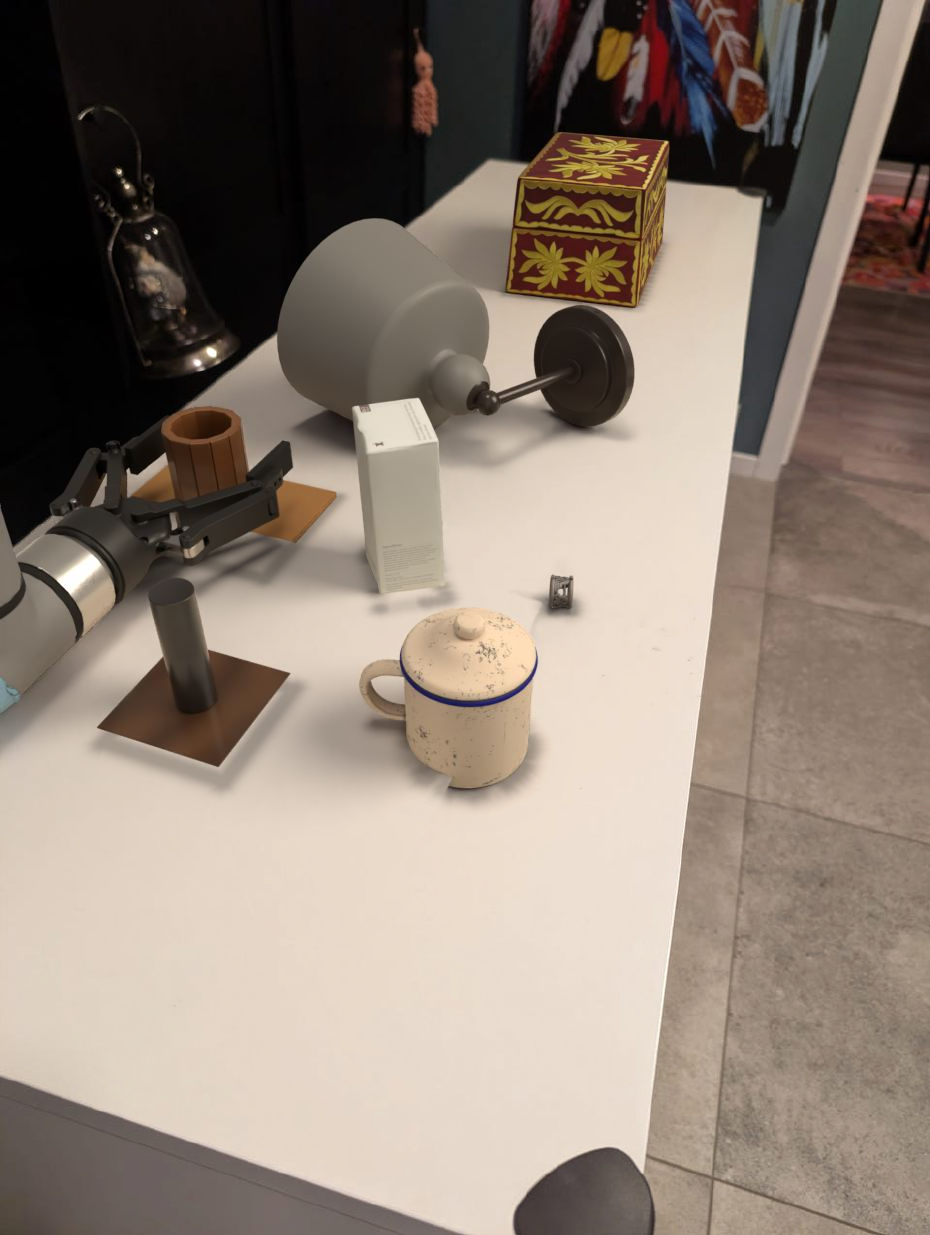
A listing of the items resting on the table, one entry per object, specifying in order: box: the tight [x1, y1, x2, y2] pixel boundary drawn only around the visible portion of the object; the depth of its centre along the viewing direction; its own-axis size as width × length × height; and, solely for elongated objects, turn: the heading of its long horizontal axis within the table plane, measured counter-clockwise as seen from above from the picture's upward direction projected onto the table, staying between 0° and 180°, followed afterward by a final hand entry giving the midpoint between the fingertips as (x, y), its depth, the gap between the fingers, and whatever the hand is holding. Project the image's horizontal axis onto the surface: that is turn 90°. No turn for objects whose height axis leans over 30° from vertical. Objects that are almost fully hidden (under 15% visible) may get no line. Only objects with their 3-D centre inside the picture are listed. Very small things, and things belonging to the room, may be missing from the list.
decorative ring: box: [548, 574, 574, 610], centre depth 80 cm, size 3×2×3 cm
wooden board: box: [127, 464, 337, 543], centre depth 90 cm, size 18×14×1 cm
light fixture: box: [276, 217, 636, 430], centre depth 98 cm, size 20×25×27 cm
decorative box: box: [504, 131, 670, 308], centre depth 137 cm, size 28×19×15 cm
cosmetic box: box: [352, 398, 446, 595], centre depth 79 cm, size 8×6×15 cm
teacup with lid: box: [358, 606, 539, 789], centre depth 65 cm, size 12×9×12 cm
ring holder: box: [96, 577, 291, 768], centre depth 67 cm, size 10×10×12 cm
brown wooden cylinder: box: [161, 405, 250, 501], centre depth 87 cm, size 7×7×9 cm
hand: (229, 440), depth 90 cm, fingers open, 12 cm apart
